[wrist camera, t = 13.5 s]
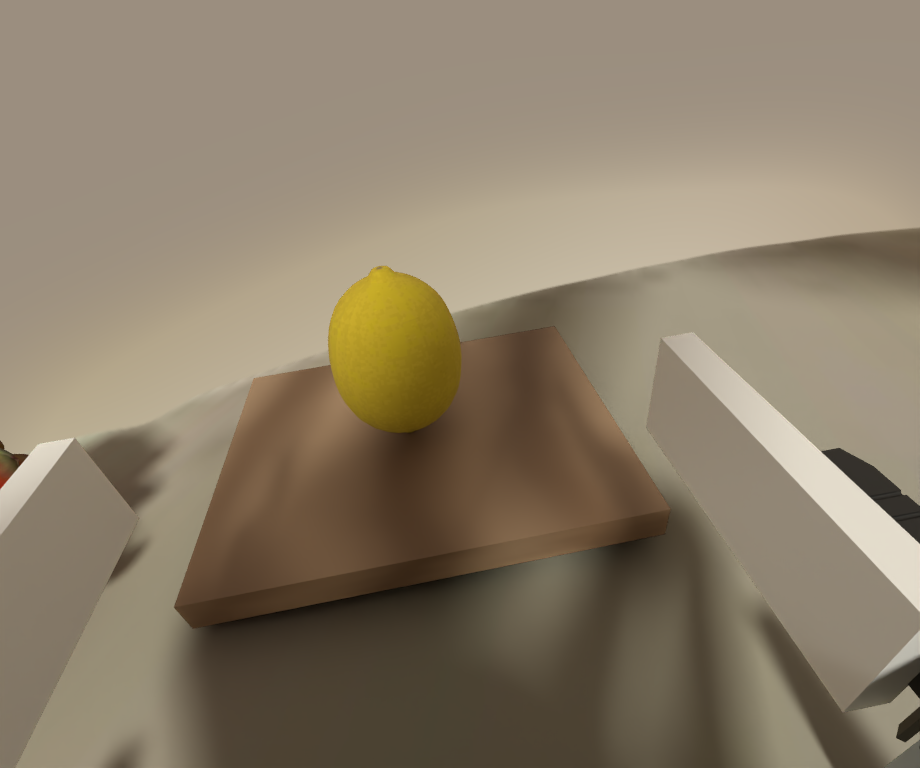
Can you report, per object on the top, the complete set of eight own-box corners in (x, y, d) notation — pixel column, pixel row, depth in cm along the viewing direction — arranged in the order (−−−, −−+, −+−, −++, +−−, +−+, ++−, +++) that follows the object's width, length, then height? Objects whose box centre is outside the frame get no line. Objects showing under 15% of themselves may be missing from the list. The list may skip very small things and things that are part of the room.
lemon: (385, 390, 26) (354, 242, 21) (483, 404, 24) (471, 245, 20) (329, 458, 22) (275, 291, 17) (442, 481, 20) (415, 301, 15)
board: (554, 347, 30) (554, 326, 29) (664, 534, 19) (670, 509, 18) (262, 398, 29) (253, 378, 28) (192, 628, 18) (173, 607, 17)
